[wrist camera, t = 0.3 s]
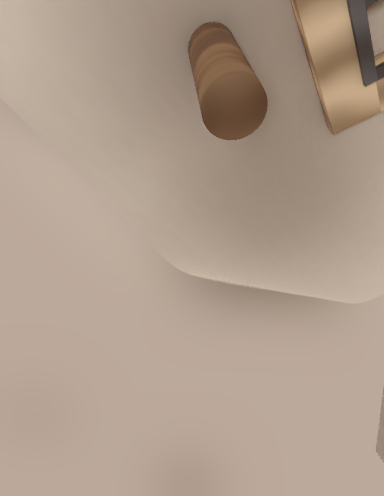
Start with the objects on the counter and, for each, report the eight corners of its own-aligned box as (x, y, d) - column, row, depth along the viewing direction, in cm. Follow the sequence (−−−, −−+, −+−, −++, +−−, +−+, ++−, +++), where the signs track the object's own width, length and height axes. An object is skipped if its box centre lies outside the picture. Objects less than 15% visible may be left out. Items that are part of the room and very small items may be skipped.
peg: (179, 39, 33) (189, 97, 23) (222, 11, 32) (252, 60, 22) (202, 82, 36) (219, 150, 26) (242, 58, 35) (276, 120, 25)
